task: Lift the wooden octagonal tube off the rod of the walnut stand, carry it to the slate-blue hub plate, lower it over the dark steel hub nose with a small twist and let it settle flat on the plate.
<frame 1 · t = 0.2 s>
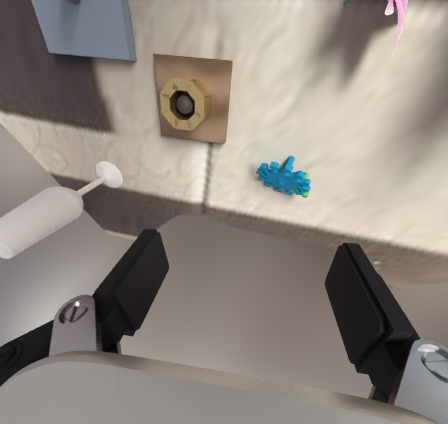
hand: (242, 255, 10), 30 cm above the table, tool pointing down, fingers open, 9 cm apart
rod stand: (195, 101, 34), on the table
gear: (282, 172, 39), on the table
champagne flute: (109, 174, 46), on the table
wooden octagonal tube: (192, 102, 32), point 2 cm above the table, touching rod stand
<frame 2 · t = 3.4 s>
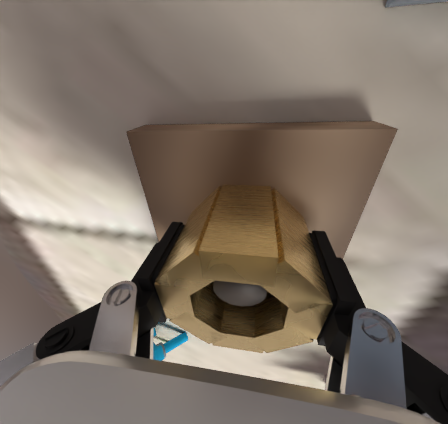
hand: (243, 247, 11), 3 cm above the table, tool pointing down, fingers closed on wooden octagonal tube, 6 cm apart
rod stand: (246, 215, 14), on the table
gear: (161, 324, 25), on the table
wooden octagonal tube: (245, 233, 12), point 2 cm above the table, touching gripper, rod stand
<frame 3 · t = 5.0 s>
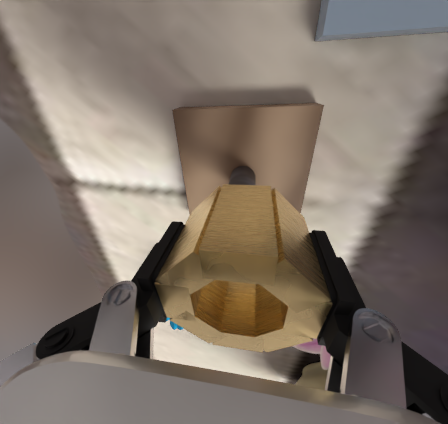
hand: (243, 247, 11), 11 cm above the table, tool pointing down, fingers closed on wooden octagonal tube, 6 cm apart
lily: (327, 309, 32), on the table
rod stand: (243, 170, 20), on the table
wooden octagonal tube: (245, 233, 12), point 10 cm above the table, touching gripper
pitcher: (326, 371, 45), on the table
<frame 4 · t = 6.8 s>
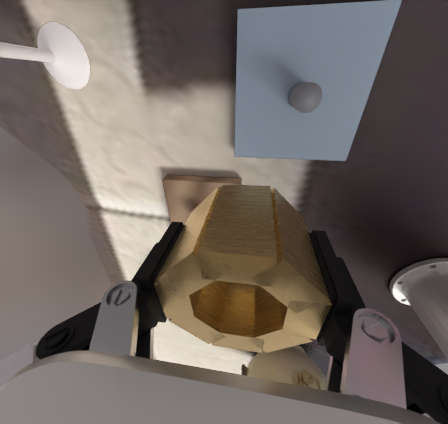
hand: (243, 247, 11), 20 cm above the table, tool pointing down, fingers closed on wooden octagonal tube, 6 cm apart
rod stand: (205, 208, 34), on the table
champagne flute: (65, 58, 24), on the table
hub plate: (296, 94, 23), on the table
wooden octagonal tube: (244, 233, 12), point 18 cm above the table, touching gripper
pitcher: (280, 349, 58), on the table
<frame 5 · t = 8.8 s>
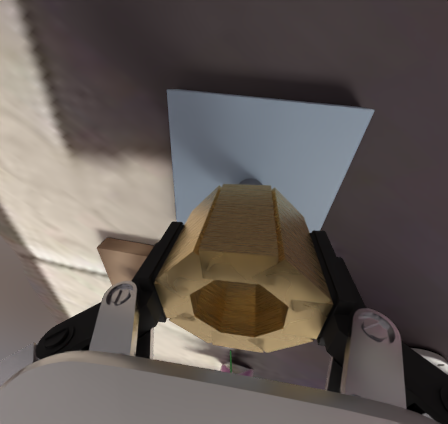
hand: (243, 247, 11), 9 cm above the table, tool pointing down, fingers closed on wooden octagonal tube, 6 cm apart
rod stand: (154, 273, 29), on the table
hub plate: (251, 181, 19), on the table
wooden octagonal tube: (245, 233, 12), point 8 cm above the table, touching gripper
when the fingers open (4 cm above the table, at t = 10.3 s): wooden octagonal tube drops 1 cm, resting on hub plate.
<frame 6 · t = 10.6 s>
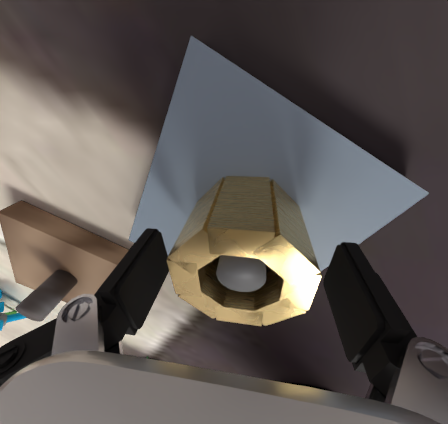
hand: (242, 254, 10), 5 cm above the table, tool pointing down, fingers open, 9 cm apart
rod stand: (80, 263, 22), on the table
gear: (14, 298, 31), on the table
hub plate: (247, 206, 15), on the table
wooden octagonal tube: (245, 222, 13), point 2 cm above the table, touching hub plate
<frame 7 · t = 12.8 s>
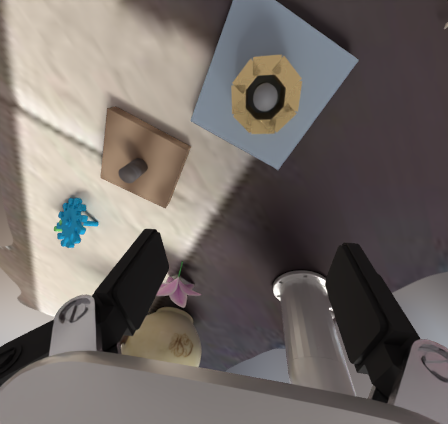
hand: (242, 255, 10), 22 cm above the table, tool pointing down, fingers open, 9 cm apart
lily: (181, 270, 49), on the table
rod stand: (146, 160, 32), on the table
gear: (84, 211, 42), on the table
hub plate: (263, 93, 25), on the table
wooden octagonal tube: (263, 94, 23), point 2 cm above the table, touching hub plate
pitcher: (172, 315, 63), on the table
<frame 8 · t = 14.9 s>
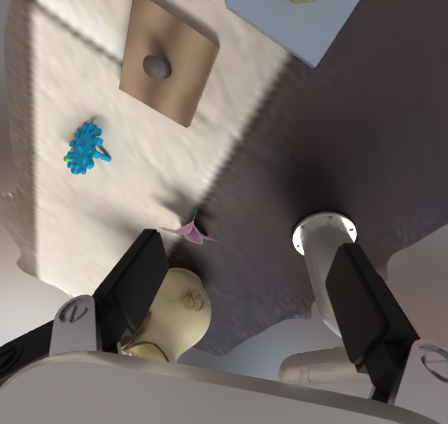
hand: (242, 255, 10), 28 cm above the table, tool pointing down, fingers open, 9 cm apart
lily: (195, 219, 46), on the table
rod stand: (169, 69, 30), on the table
gear: (97, 144, 39), on the table
pitcher: (180, 279, 60), on the table
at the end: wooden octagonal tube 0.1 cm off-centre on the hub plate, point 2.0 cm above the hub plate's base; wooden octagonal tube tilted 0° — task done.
